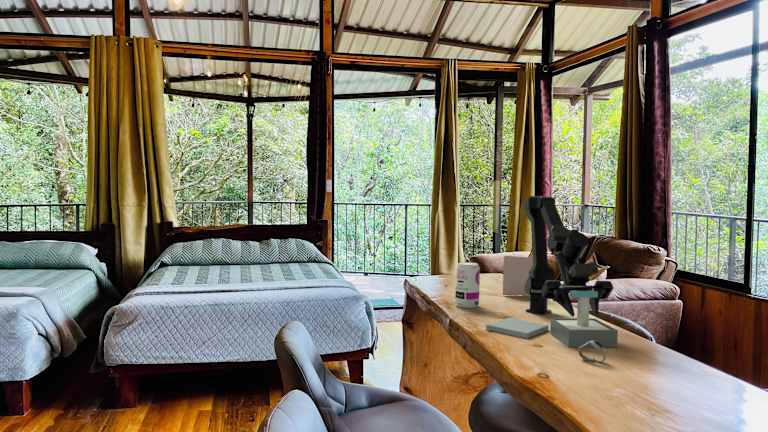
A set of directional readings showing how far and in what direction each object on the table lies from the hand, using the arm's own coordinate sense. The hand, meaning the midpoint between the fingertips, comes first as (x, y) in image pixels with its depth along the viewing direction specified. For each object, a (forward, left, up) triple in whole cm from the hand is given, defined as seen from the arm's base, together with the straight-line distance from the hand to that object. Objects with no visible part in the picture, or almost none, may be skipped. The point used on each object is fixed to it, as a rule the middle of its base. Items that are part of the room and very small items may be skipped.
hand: (585, 315), depth 144 cm
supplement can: (-15, -48, -7) cm, 51 cm away
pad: (+2, -19, -7) cm, 20 cm away
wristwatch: (+15, +8, -7) cm, 19 cm away
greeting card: (-45, -46, -7) cm, 65 cm away
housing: (-1, -1, -7) cm, 7 cm away
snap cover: (-1, -1, -4) cm, 4 cm away
